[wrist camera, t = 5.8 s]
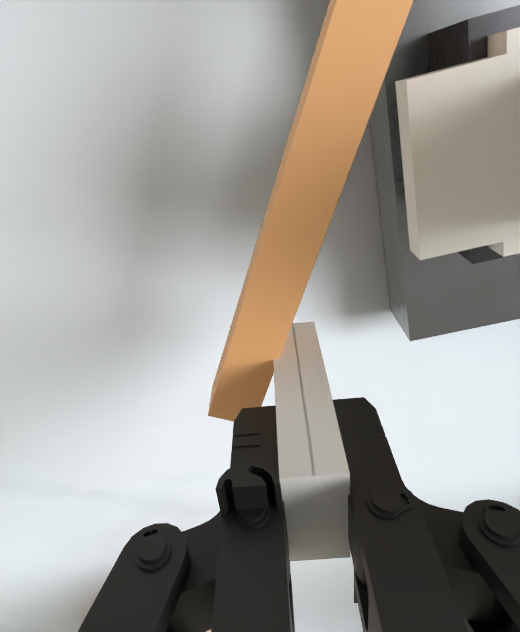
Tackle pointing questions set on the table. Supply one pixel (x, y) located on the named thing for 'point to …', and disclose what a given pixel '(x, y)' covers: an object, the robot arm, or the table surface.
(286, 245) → the orange rectangular bar
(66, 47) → the table surface
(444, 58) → the power strip
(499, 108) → the plug
